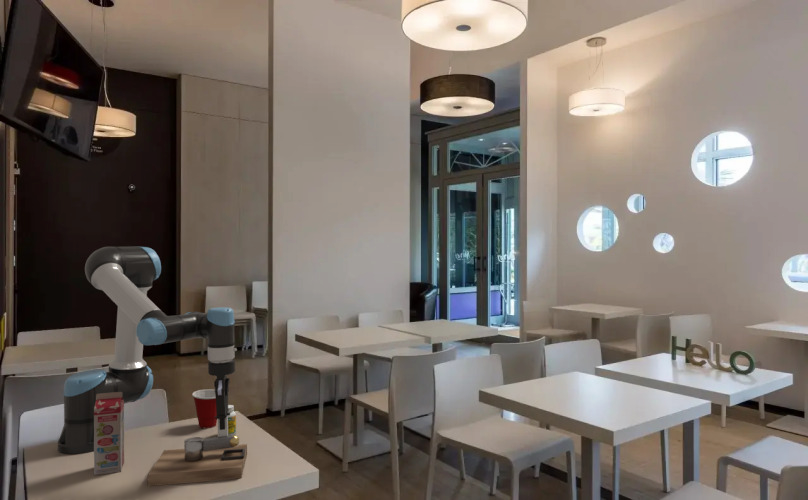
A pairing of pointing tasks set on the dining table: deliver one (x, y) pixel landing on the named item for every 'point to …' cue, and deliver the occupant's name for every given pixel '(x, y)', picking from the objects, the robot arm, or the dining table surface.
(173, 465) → the lever stand
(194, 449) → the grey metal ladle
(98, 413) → the juice carton
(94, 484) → the dining table surface
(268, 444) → the dining table surface
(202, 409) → the plastic cup
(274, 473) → the dining table surface
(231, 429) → the supplement bottle
